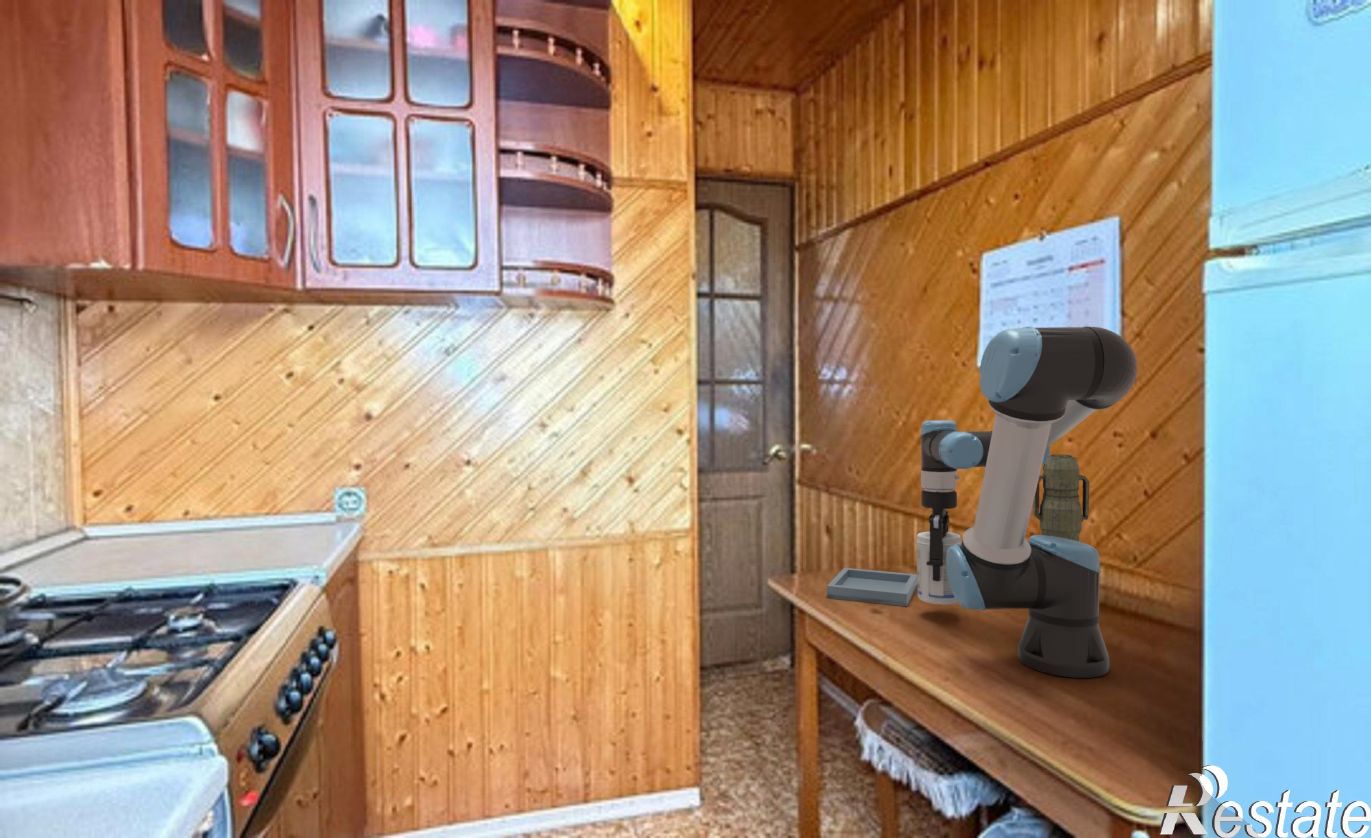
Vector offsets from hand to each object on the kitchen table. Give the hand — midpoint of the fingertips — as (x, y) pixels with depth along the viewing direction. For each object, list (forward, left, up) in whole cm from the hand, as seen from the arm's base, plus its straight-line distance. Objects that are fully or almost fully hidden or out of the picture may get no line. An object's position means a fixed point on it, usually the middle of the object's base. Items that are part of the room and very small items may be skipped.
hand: (939, 589), depth 165 cm
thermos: (+21, -25, -6) cm, 33 cm away
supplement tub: (0, 0, -3) cm, 3 cm away
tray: (+14, +17, -6) cm, 23 cm away
